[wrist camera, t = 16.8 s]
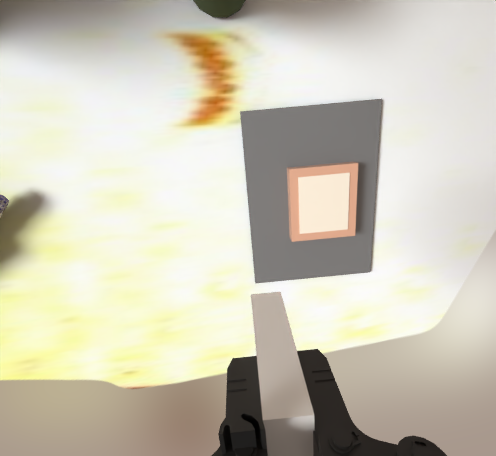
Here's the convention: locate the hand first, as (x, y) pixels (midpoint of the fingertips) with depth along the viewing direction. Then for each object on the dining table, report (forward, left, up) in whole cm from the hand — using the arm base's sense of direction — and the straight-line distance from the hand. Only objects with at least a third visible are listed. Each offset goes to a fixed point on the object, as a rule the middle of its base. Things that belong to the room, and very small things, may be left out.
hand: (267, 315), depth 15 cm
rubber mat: (0, +8, -22) cm, 24 cm away
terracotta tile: (0, +5, -21) cm, 22 cm away
